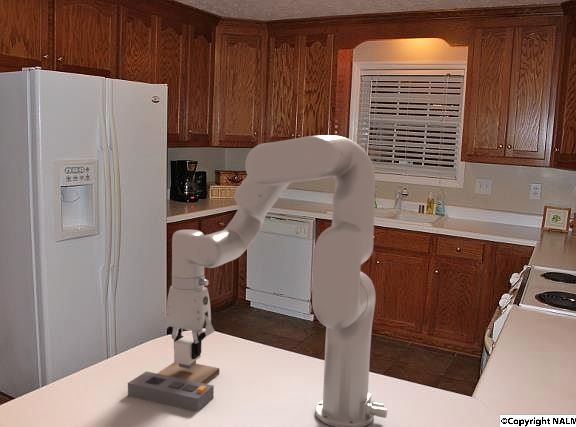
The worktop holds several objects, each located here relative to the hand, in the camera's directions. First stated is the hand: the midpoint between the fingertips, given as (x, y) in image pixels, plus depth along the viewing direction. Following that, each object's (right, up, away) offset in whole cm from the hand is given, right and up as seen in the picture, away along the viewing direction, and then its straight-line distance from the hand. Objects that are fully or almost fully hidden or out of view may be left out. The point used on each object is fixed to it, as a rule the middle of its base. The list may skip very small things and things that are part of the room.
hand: (187, 354), depth 139 cm
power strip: (-2, -7, -10) cm, 12 cm away
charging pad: (0, -6, +1) cm, 6 cm away
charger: (0, -3, 0) cm, 3 cm away
